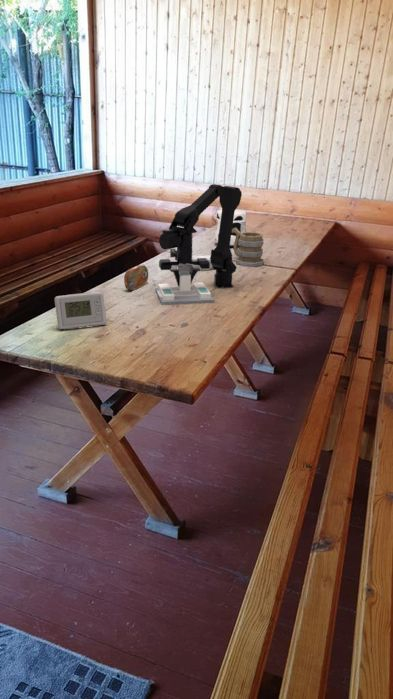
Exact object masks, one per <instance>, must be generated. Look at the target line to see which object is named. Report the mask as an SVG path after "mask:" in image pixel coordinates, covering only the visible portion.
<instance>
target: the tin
mask: <svg viewBox="0 0 393 699" xmlns="http://www.w3.org/2000/svg"><path fill="white" fill-rule="evenodd" d="M148 279H149V270H148V267H147V266H146V265H143V264H140V265H136V266H134V267H132V268H128V270H126V272H125V273H124V277H123V281H124V283H123V284H124V287H125V289H127V290H129V291H136V290H137V289H138V290H139V289H140V288H142V287H144V286H146V284H147V283H148Z"/></svg>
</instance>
